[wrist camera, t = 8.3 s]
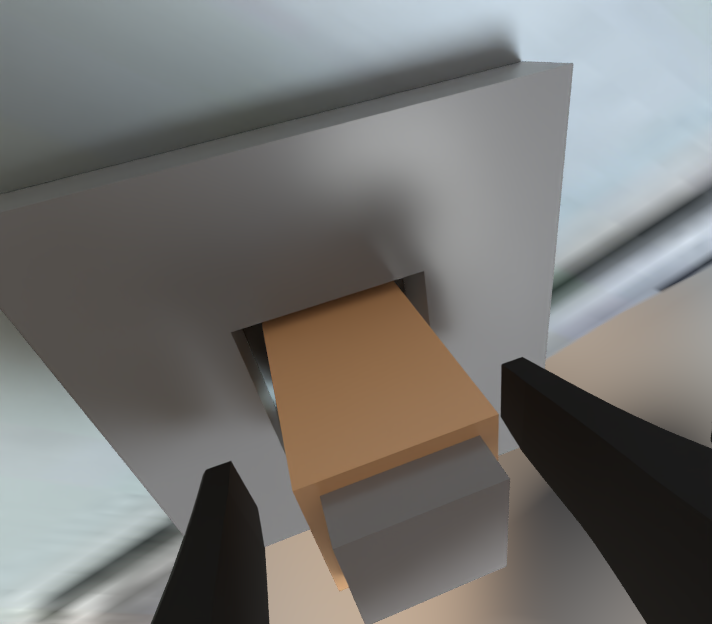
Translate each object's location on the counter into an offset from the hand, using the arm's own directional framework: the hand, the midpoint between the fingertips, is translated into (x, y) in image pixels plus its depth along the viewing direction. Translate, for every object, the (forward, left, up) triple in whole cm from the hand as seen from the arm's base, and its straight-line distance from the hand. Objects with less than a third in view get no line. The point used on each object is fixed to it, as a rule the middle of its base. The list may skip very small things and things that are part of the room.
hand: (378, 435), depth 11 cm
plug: (0, 0, -5) cm, 5 cm away
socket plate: (0, 0, -5) cm, 5 cm away
